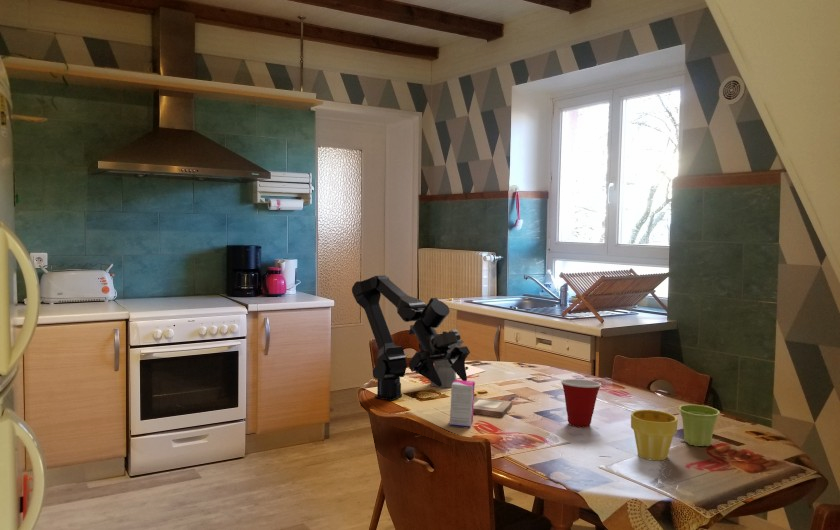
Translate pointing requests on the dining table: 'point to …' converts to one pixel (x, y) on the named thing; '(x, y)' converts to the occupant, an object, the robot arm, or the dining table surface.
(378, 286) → the robot arm
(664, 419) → the plant pot
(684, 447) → the dining table surface
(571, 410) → the plastic cup
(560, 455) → the dining table surface
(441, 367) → the coffeepot
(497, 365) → the dining table surface
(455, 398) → the supplement box
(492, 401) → the base board
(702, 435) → the plant pot
